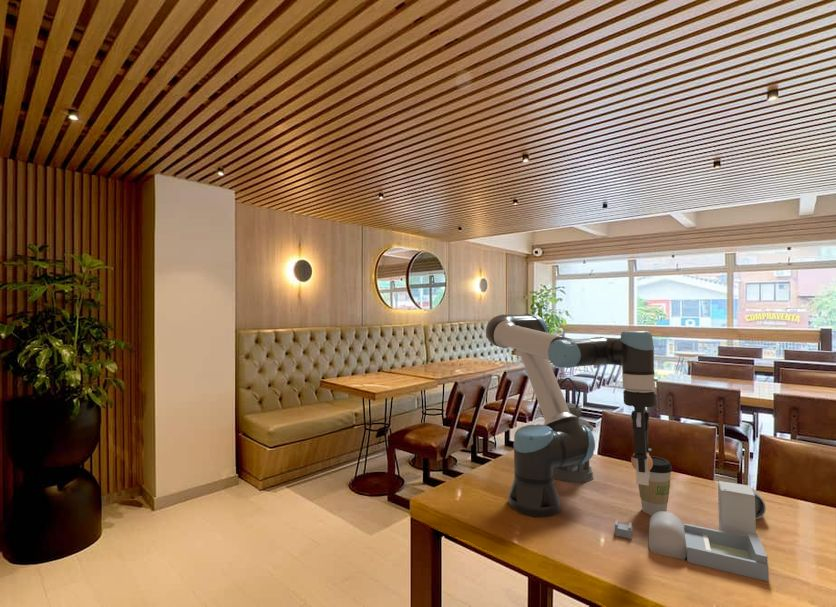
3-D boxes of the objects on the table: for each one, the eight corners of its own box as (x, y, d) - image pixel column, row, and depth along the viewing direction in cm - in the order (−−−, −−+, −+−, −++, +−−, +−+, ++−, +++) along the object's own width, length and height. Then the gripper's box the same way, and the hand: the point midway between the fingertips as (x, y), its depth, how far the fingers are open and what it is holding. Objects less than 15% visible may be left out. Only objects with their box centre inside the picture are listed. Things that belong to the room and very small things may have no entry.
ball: (630, 473, 108) (629, 453, 108) (632, 467, 112) (631, 448, 113) (652, 476, 106) (651, 456, 106) (653, 470, 110) (652, 450, 110)
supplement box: (756, 546, 105) (755, 495, 106) (720, 538, 109) (719, 489, 110) (752, 533, 112) (751, 485, 112) (718, 525, 116) (717, 479, 116)
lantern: (536, 473, 154) (535, 377, 154) (559, 462, 165) (558, 372, 166) (581, 487, 141) (579, 383, 142) (602, 473, 153) (600, 377, 153)
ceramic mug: (760, 510, 124) (759, 484, 124) (766, 522, 117) (765, 494, 117) (716, 503, 129) (715, 478, 130) (720, 514, 122) (718, 487, 123)
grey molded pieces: (613, 551, 107) (612, 520, 107) (617, 529, 118) (616, 500, 118) (768, 591, 92) (768, 554, 92) (757, 560, 103) (756, 527, 103)
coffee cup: (679, 520, 118) (678, 467, 119) (641, 517, 120) (640, 465, 121) (666, 505, 128) (665, 455, 128) (631, 502, 130) (630, 453, 130)
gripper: (654, 396, 100) (658, 495, 99) (656, 386, 116) (661, 472, 115) (619, 394, 104) (623, 489, 103) (626, 384, 120) (630, 467, 118)
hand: (643, 480), depth 109 cm, fingers closed on ball, 5 cm apart
